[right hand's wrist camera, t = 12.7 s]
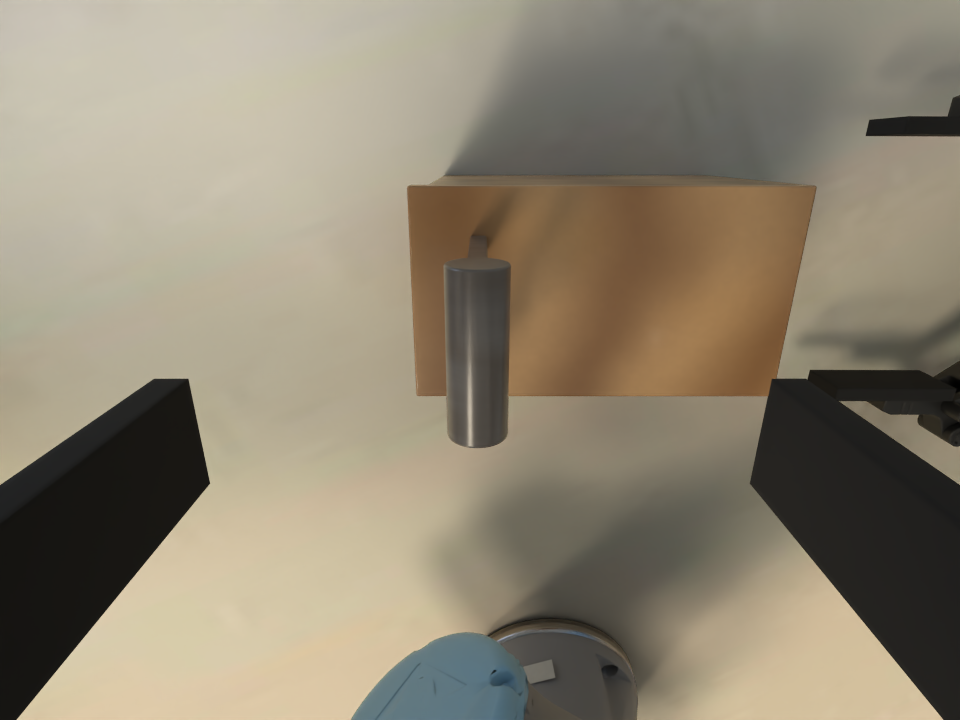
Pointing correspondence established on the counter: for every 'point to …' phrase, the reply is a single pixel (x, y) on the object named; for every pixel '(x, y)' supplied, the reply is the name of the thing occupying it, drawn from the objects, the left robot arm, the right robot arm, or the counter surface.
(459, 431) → the lid
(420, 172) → the counter surface
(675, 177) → the chest
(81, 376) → the counter surface
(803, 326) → the counter surface
